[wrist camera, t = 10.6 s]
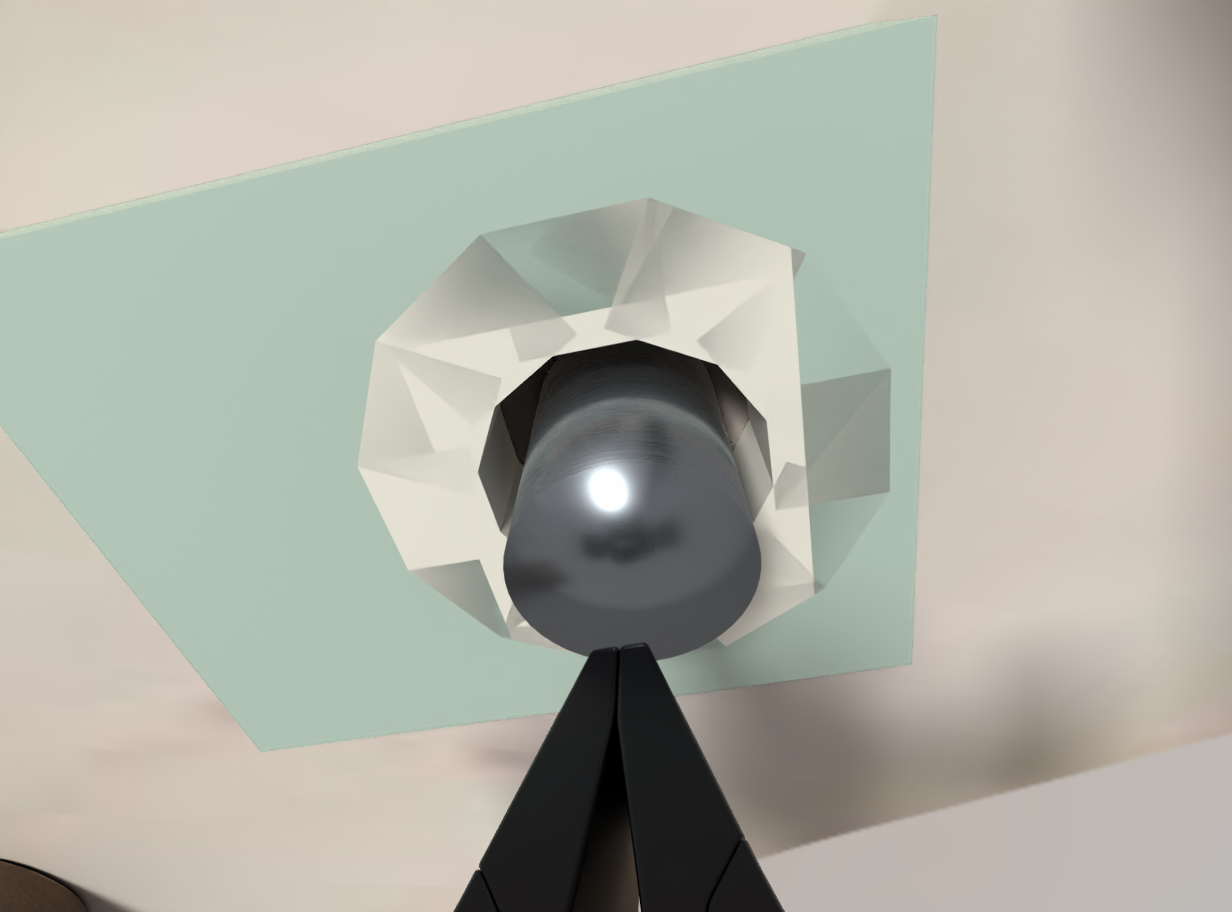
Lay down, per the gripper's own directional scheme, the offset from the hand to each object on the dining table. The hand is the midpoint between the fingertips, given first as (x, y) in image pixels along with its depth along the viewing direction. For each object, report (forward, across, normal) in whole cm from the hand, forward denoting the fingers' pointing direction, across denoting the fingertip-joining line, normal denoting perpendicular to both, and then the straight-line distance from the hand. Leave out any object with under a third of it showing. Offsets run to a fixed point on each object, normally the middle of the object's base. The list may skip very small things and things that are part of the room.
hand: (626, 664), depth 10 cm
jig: (+8, +3, 0) cm, 8 cm away
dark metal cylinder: (+8, 0, 0) cm, 8 cm away
